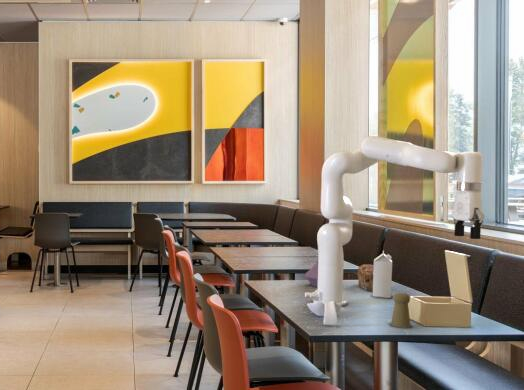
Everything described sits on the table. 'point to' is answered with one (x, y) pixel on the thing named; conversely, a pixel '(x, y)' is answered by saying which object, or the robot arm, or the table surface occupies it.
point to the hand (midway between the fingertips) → (467, 237)
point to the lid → (459, 275)
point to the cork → (401, 310)
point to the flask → (313, 275)
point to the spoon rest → (326, 311)
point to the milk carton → (382, 276)
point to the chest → (440, 311)
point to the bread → (366, 276)
